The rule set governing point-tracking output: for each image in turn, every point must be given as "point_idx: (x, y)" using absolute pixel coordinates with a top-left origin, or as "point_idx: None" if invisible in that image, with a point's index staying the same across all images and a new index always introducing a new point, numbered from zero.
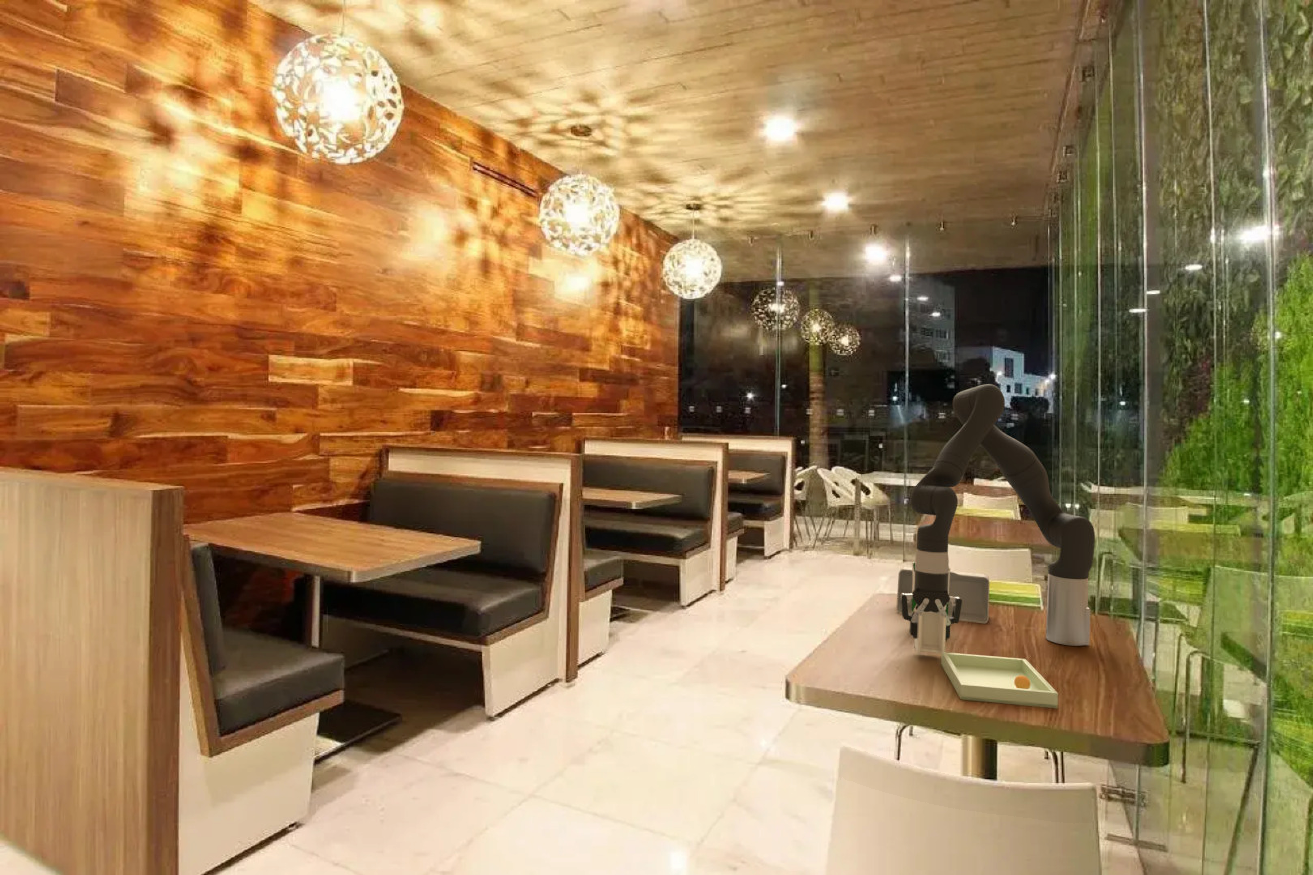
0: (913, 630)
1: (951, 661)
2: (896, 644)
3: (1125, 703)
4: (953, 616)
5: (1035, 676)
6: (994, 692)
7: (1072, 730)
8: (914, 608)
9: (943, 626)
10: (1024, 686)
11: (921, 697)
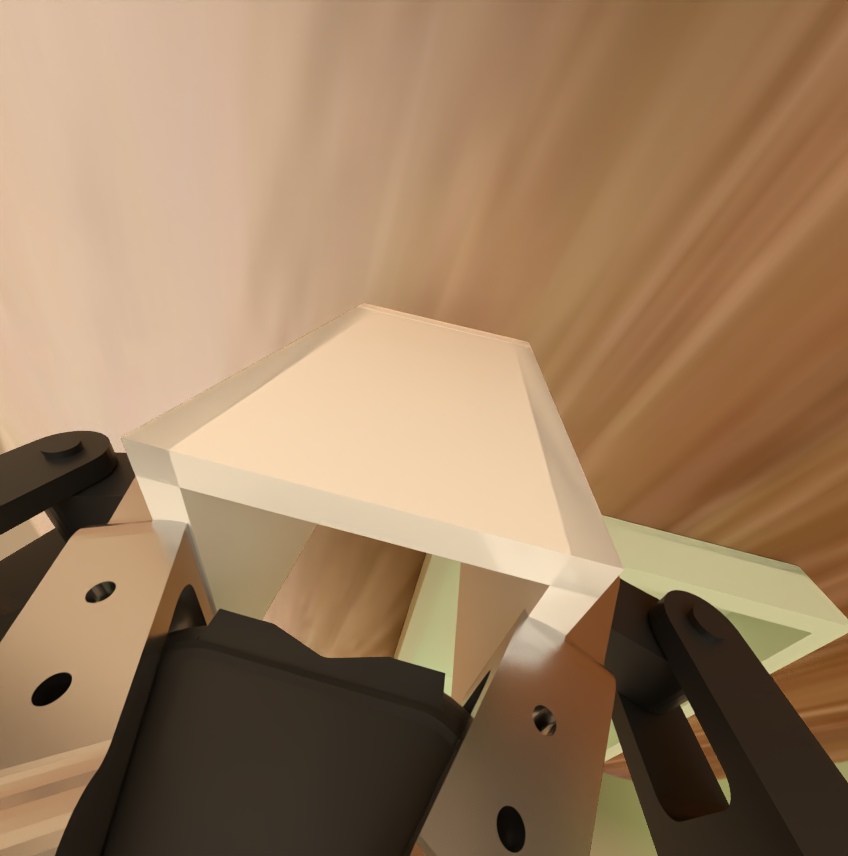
0: None
1: (433, 603)
2: (289, 49)
3: (833, 738)
4: (687, 671)
5: None
6: None
7: None
8: (73, 550)
9: (458, 629)
10: None
11: (311, 638)
